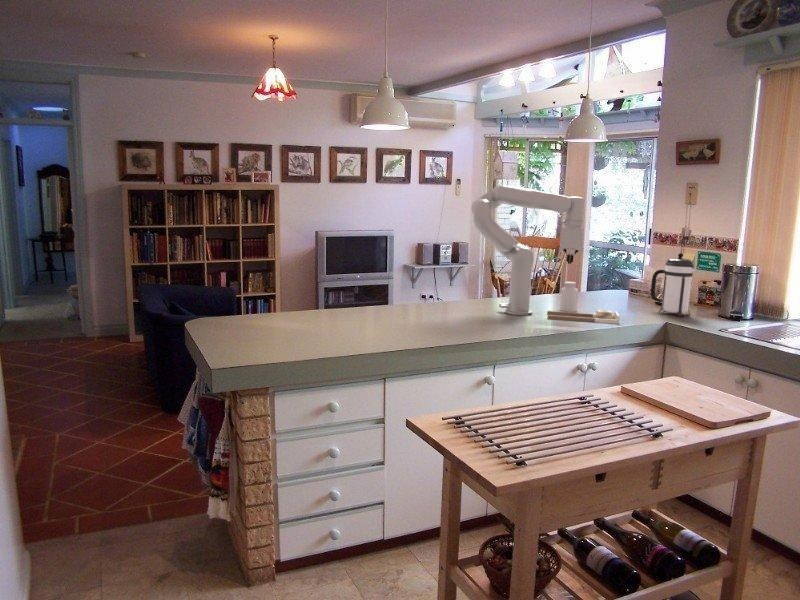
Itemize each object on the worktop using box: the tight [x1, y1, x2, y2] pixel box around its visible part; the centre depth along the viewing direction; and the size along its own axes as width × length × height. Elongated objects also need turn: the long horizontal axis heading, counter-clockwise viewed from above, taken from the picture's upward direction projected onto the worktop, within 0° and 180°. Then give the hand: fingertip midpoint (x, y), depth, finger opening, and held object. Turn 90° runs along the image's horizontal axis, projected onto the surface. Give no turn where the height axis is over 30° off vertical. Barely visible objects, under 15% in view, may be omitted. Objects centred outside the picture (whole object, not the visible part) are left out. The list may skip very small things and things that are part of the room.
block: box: [595, 309, 614, 319], centre depth 281 cm, size 6×6×4 cm
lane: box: [546, 310, 620, 325], centre depth 282 cm, size 30×12×5 cm, turn 78°
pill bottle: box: [559, 281, 579, 313], centre depth 302 cm, size 8×8×15 cm
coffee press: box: [650, 252, 696, 318], centre depth 309 cm, size 17×16×30 cm
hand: (569, 263), depth 296 cm, fingers closed
